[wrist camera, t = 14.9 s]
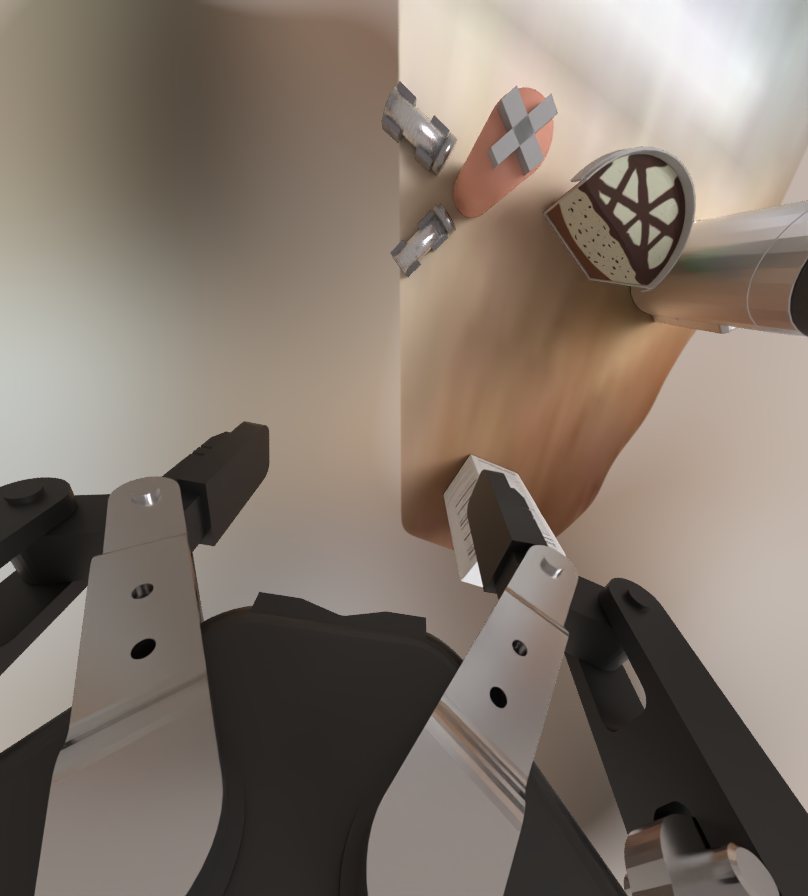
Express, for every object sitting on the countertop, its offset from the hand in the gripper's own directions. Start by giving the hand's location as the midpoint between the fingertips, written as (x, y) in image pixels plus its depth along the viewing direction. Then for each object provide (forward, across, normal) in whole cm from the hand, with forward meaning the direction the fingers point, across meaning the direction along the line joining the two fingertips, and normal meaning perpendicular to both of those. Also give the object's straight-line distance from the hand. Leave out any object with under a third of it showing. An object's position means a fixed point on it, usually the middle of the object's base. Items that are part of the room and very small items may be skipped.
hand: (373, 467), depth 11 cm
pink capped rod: (+32, -5, -15) cm, 35 cm away
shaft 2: (+32, 0, -10) cm, 33 cm away
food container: (+32, -18, -15) cm, 40 cm away
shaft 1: (+32, +2, -18) cm, 36 cm away
